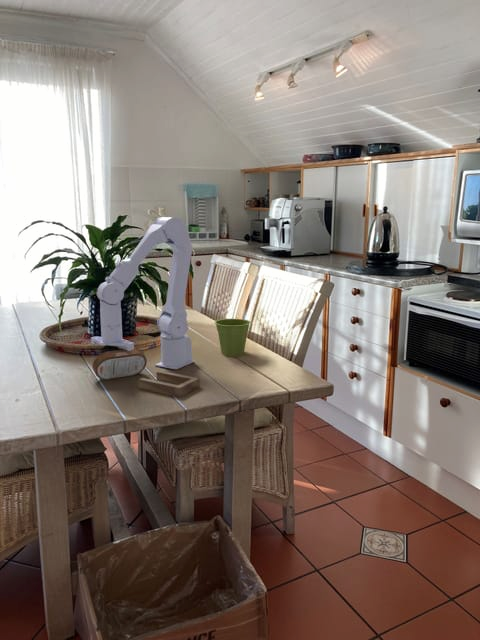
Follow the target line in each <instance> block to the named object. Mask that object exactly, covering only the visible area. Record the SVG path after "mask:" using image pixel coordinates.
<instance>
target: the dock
mask: <svg viewBox="0 0 480 640" xmlns="http://www.w3.org/2000/svg"><path fill="white" fill-rule="evenodd" d="M155 374H156V380H155V379H154V380H153V379H148V378H145V377H141V378H138V389H140V390H144V391H149V392H154V393H157V394H162V395H167V396H171V397H177V398H182V397H183V396H185V395H187V394H189V393H192V392H193V391H194V390H198V389H199V388H201V383H200V381H201V379H200V378H198V377H195V376H190V375H184V374H179V373H173V372H168V371H164V370H158V371H156V373H155Z"/></svg>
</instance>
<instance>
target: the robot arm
mask: <svg viewBox="0 0 480 640" xmlns="http://www.w3.org/2000/svg"><path fill="white" fill-rule="evenodd" d="M188 231H189V226H188V225H187V224H186V223H185V221H184V220H183V219H181V218H180V217H177V216H171V217H170V216H169V217H168V216H159V217H158V218H156V219H155V220H154V222H153V223H152V224H151V225H150V226H149V227H148V229H147V230H146V233H145V234H144V236H143V237H142V239H141V240H140V241H139V243H138V244H137V245H136V247H135V249H134V250H133V252H132V253H131V254H130V256H129V257H128V258H127V259H122V260H120V261H117V262H116V263H115V265H114V266H115V268H114V270H113V271H112V272H111V273H110V275H109V276H106V277H105V278H104V280H105V281H104V282H102V283H100V284H99V286H98V288H97V291H96V296H97V299H99V304H100V306H99V308H100V309H99V313H100V315H99V316H100V317H99V318H100V332H101V333H100V335H101V336H97V335H96V336H92V337H90V343H91V345H98V346H99V345H100V346H103V347H102V348H100V352H101V354H102V353H105V352H110V351H118V350H126V349H127V350H128V351H130V350H133V349H135V342H132V341H129V340H127V339H123V325H122V324H123V323H122V322H123V321H122V308H121V307H122V306H121V305H122V303H121V301H123V299H124V296H125V291H126V290H127V288H128V287H129V286H130V284H131V283H132V282H133V281H134V279H135V278H136V277H137V275H138V274H139V266H140V264H142V262H143V261H144V260H145V259H146V257H147V256H148V255H149V254H150V253H151V252H152V250H153V249H154V248H155V247H156V246H157V245H160V244H164V243H166V244H167V245H168V246H169V247H170V248H171V250H172V252H173V253H172V259H171V266H170V273H169V281H168V287H167V288H168V289H167V293H166V294H167V296H166V301H165V304H164V305H163V306H162V307H161V313H160V315H159V316H158V317H157V322H156V325H157V328H158V329H159V330H160V353H161V354H160V360H161V361H160V362H158V363H155V367H161V368H166V369H171V370H178V369H180V368H183V367H185V366H187V365H190V364H192V363H195V360H193V359H192V358H193V357H192V356H193V355H192V350H193V349H192V340H191V337H190V336H189V335H188V334H187V333H188V329H189V324H188V320H187V317H188V313H187V311H186V308H185V300H186V294H187V287H188V279H189V272H190V267H191V266H190V265H191V259H192V254H193V253H192V252H193V244H192V240H191V238H190V235H189V232H188Z"/></svg>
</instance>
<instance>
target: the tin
mask: <svg viewBox="0 0 480 640" xmlns="http://www.w3.org/2000/svg"><path fill="white" fill-rule="evenodd" d="M147 362H148V359H147V357H146V355H145V353H144V351H143V350H141V349H139V348H134V349H133V350H130V351H128V350H127V349H124V350H118V351H110V352H105V353H101V354H99V355H97V356H96V357H95V358H94V360H93V362H92V370H93V371H94V373H95V374H94V375H96V377H97V378H98V379H100V380H104V381H105V380H106V381H108V380H113V379H114V378H115V379H120V377H121V378H126V377H131V376H133V377H134V376H136V375H138V374H141V373H142V372H143V371H144V370H145V369H146V366H147Z"/></svg>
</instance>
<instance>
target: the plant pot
mask: <svg viewBox="0 0 480 640" xmlns="http://www.w3.org/2000/svg"><path fill="white" fill-rule="evenodd" d="M213 323H214V324H215V326H216V330H217V334H218V341H219V348H220V352H221V355H223V356H225V357H240V356H243V355H244V354H245V349H246V343H247V337H248V331H249V328H250V325H251V323H252V321H250V320H248V319H242V318H221V319H217V320H215V321H214V322H213Z"/></svg>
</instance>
